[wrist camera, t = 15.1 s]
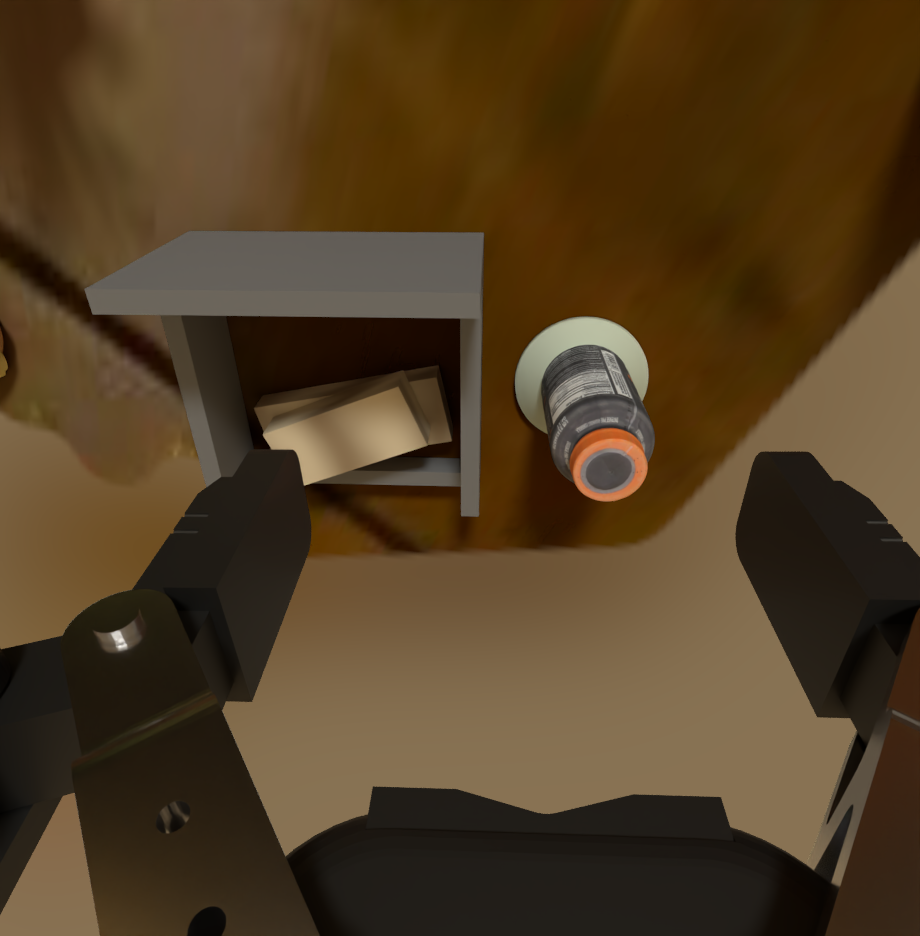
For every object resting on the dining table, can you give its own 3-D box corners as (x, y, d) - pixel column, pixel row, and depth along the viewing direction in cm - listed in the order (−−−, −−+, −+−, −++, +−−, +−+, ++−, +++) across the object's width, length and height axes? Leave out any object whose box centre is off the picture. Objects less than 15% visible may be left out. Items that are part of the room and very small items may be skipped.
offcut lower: (439, 362, 44) (436, 377, 42) (453, 424, 47) (451, 441, 45) (264, 392, 46) (253, 408, 44) (288, 450, 49) (279, 468, 46)
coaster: (656, 317, 41) (658, 320, 41) (636, 437, 46) (637, 441, 45) (517, 315, 41) (518, 318, 41) (512, 434, 46) (512, 439, 46)
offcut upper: (403, 370, 42) (398, 386, 40) (430, 427, 44) (427, 445, 42) (273, 416, 44) (262, 434, 42) (305, 468, 46) (296, 488, 44)
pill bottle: (617, 425, 45) (650, 524, 35) (534, 416, 45) (545, 513, 35) (638, 346, 42) (681, 431, 32) (548, 337, 42) (564, 419, 32)
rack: (483, 232, 39) (480, 293, 29) (480, 472, 48) (476, 580, 38) (189, 230, 39) (84, 289, 29) (242, 467, 49) (177, 572, 39)
